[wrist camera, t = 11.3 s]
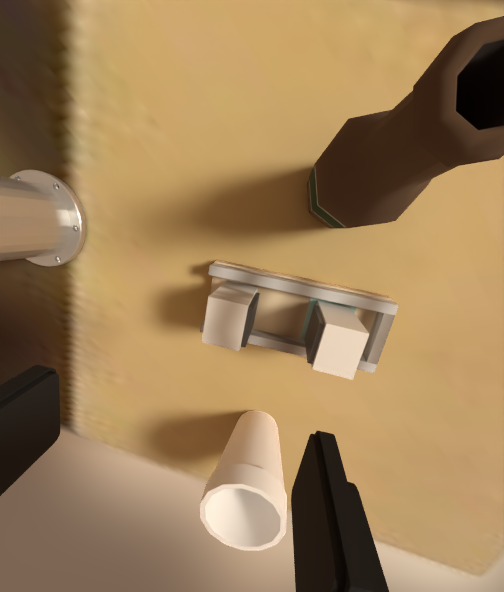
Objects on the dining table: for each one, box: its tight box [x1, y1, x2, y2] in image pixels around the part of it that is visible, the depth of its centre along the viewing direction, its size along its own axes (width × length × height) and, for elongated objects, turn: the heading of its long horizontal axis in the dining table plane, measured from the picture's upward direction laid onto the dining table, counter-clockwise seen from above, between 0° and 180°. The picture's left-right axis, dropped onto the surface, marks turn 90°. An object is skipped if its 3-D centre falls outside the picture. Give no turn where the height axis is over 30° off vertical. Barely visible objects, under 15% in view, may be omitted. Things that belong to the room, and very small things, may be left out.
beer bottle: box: [307, 16, 504, 228], centre depth 18 cm, size 8×8×24 cm
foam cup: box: [200, 410, 287, 551], centre depth 33 cm, size 10×9×13 cm
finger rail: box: [200, 260, 399, 373], centre depth 30 cm, size 22×9×10 cm, turn 79°
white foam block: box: [304, 301, 369, 380], centre depth 28 cm, size 4×5×8 cm
